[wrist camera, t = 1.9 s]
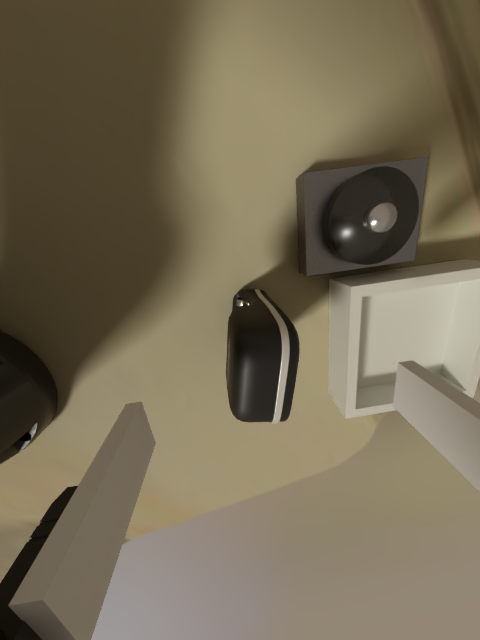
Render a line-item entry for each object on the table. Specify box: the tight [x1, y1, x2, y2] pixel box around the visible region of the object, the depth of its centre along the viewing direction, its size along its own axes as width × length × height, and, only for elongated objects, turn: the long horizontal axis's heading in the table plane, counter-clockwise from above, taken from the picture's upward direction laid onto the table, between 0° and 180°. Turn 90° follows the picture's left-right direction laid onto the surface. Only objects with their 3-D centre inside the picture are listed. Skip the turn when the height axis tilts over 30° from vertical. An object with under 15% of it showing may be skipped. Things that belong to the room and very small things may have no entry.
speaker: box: [296, 157, 429, 276], centre depth 19 cm, size 10×8×4 cm
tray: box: [328, 259, 480, 418], centre depth 23 cm, size 14×14×4 cm
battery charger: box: [226, 289, 299, 424], centre depth 18 cm, size 7×4×11 cm, turn 177°
